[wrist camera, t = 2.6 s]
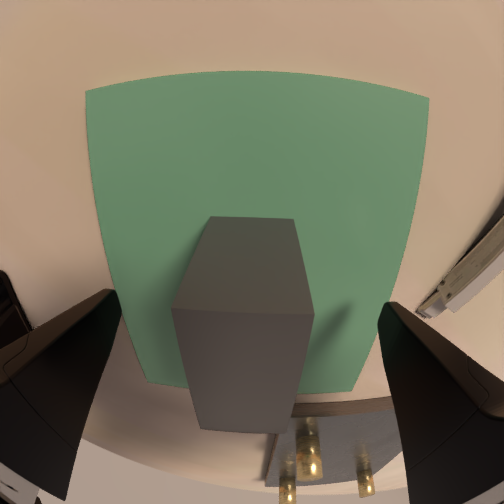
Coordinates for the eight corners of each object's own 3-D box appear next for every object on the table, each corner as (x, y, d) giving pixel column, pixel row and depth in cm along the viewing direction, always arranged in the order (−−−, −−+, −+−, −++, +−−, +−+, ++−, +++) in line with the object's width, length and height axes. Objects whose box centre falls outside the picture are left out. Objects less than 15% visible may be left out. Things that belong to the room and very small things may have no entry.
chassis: (265, 479, 23) (264, 509, 20) (282, 403, 15) (284, 464, 11) (368, 470, 23) (372, 498, 20) (449, 385, 15) (467, 429, 11)
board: (153, 366, 15) (125, 451, 10) (103, 91, 8) (-20, 102, 3) (347, 374, 14) (365, 463, 9) (412, 97, 8) (532, 111, 3)
